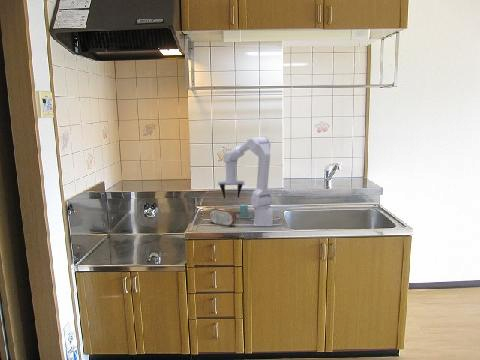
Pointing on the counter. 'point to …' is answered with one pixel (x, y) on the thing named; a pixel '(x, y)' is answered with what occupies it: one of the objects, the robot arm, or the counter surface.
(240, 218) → the pad
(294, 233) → the counter surface
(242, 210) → the block
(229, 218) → the tin
